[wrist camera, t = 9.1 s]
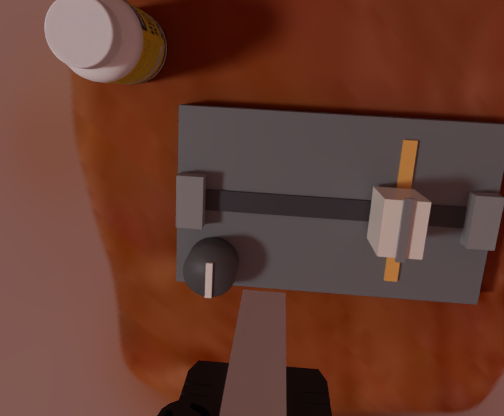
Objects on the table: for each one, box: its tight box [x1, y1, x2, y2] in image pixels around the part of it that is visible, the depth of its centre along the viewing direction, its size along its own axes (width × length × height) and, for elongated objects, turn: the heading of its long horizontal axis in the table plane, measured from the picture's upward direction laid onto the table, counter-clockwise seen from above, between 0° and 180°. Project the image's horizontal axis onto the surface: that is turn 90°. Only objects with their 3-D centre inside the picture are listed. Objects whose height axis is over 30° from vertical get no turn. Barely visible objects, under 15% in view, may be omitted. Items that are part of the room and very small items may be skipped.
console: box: [176, 104, 504, 304], centre depth 35 cm, size 14×24×5 cm, turn 87°
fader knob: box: [367, 186, 431, 263], centre depth 32 cm, size 4×3×4 cm
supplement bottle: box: [44, 0, 167, 84], centre depth 30 cm, size 5×5×10 cm
